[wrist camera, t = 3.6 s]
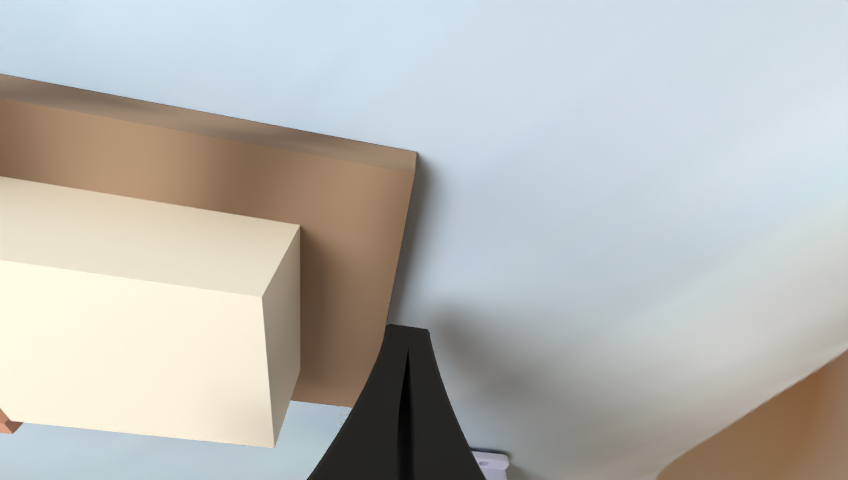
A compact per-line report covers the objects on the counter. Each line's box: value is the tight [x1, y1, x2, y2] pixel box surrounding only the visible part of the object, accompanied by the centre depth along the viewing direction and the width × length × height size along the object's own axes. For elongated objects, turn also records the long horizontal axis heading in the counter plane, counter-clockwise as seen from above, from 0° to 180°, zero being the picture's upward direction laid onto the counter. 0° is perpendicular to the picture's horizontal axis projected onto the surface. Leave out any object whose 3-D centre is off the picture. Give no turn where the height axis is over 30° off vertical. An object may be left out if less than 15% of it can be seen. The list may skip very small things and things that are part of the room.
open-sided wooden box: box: [0, 74, 417, 434], centre depth 12 cm, size 22×12×4 cm, turn 79°
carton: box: [0, 176, 300, 448], centre depth 11 cm, size 8×7×3 cm
